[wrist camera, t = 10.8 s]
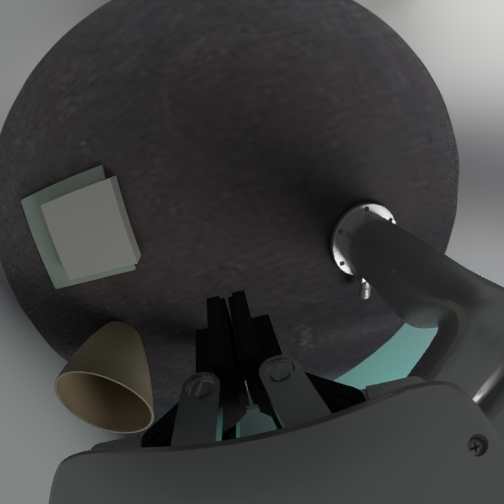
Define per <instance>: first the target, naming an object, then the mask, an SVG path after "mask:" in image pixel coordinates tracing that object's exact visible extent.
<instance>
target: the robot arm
mask: <svg viewBox="0 0 504 504" xmlns="http://www.w3.org/2000/svg"><path fill="white" fill-rule="evenodd" d="M330 248H331V255H332V257H333V260H334V262H335V263H336V265H337V266H338V267H339V268H340V269H341V270H342V271H344V272H345V273H347V274H350V275H355V276H357V277H358V282H359V283H360V289H359V297H360V298H362V299H367V298H369V297H370V286H371V287H372V288H373V289H374V290H375V291H376V292H377V293H378V294H379V295H380V296H381V298H382V299H383V300H384V301H385V302H386V303H387V304H388V305H389V306H390V307H391V308H392V309H393V310H394V311H395V313H396V314H397V315H398V316H399V317H400V318H401V319H402V320H403V321H404V322H406V323H407V324H409V325H411V326H413V327H417V328H435V327H438V331H437V334H436V335H435V337H434V339H433V340H432V342H431V344H430V345H429V347H428V348H427V350H426V351H425V353H424V354H423V356H422V357H421V358H420V360H419V361H418V362H417V364H416V365H415V366H414V368H413V369H412V370H411V372H410V373H409V375H408V376H407V377H406V378H402V379H398V380H394V381H389V382H385V383H380V384H376V385H370V386H366V389H362V390H358V389H356V388H354V387H351V386H347V385H344V384H341V383H338V382H334V381H331V380H328V379H325V378H321V377H318V376H315V375H312V374H309V373H306V372H304V371H303V369H302V368H301V366H300V365H299V363H298V362H297V361H296V360H295V359H294V358H292V357H290V356H286V355H282V352H281V349H280V347H279V344H278V341H277V338H276V335H275V333H274V330H273V327H272V324H271V321H270V318H269V316H268V314H267V315H263V316H259V317H255V318H251V315H250V312H249V308H248V304H247V300H246V296H245V292H244V290H242V291H238V292H233V293H232V296H231V297H228V301H229V307H230V313H231V319H232V323H231V319H230V316H229V312H228V309H227V305H226V302H225V299H224V298H222V299H220V297H219V296H216V297H212V298H207V319H208V328H206V329H201V330H196V373H195V374H193V375H191V376H190V377H188V378H187V379H186V380H185V382H184V383H183V385H182V389H181V394H180V399H179V402H178V403H177V404H176V405H175V406H174V407H173V408H172V409H171V410H170V411H168V412H167V413H166V414H165V415H164V416H163V417H162V418H161V419H160V420H159V421H157V422H156V423H155V424H154V425H153V426H152V427H151V428H150V429H148V430H147V431H146V433H145V434H144V435H143V436H141V437H139V436H138V435H135V436H130V437H126V438H122V439H117V440H113V441H108V442H103V443H99V444H96V445H95V446H94V447H92V449H91V450H88V451H84V452H80V453H77V454H73V455H71V456H69V457H67V458H66V459H64V460H63V461H62V462H61V463H60V465H59V466H58V468H57V470H56V473H55V476H54V479H53V483H52V487H51V493H50V499H49V504H504V288H503V287H501V286H500V285H498V284H496V283H494V282H491V281H489V280H487V279H485V278H483V277H481V276H479V275H478V274H476V273H474V272H472V271H470V270H468V269H466V268H465V267H463V266H462V265H460V264H459V263H457V262H455V261H454V260H452V259H451V258H449V257H448V256H446V255H445V254H443V253H442V252H440V251H438V250H437V249H435V248H434V247H432V246H430V245H429V244H427V243H426V242H424V241H423V240H421V239H419V238H418V237H416V236H414V235H413V234H411V233H409V232H408V231H406V230H404V229H403V228H401V227H399V226H398V225H396V223H395V220H394V217H393V215H392V214H391V213H390V211H389V210H388V209H386V208H385V207H384V206H382V205H380V204H377V203H373V202H365V203H360V204H358V205H355V206H354V207H352V208H350V209H349V210H348V211H346V212H345V213H344V214H343V215H342V217H341V218H340V219H339V220H338V222H337V224H336V226H335V228H334V230H333V233H332V237H331V246H330ZM232 325H233V326H232ZM244 378H245V379H244ZM245 381H246V384H247V387H248V390H249V393H250V395H251V398H252V401H253V404H254V405H255V404H258V406H259V409H260V412H262V413H265V414H267V415H269V416H271V419H272V422H273V424H274V426H275V428H276V430H273V431H269V432H265V433H260V434H256V435H251V436H245V437H240V438H239V431H240V428H239V427H240V426H239V420H240V419H241V418H242V417H243V416H244V414H246V409H245V407H246V406H250V404H249V399H248V394H247V389H246V384H245Z"/></svg>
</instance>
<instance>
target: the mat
mask: <svg viewBox="0 0 504 504" xmlns="http://www.w3.org/2000/svg"><path fill="white" fill-rule="evenodd" d="M103 179H106V176H105V172H104V168H103V165H100V166H98V167H95V168H92V169H90V170H87V171H84V172H82V173H79V174H77V175H75V176H72V177H70V178H67V179H65V180H63V181H60V182H58V183H56V184H54V185H51V186H49V187H47V188H45V189H43V190H41V191H38V192H36V193H34V194H32V195H30V196H28V197H26V198H24V199H22V200H21V203H22V206H23V209H24V212H25V215H26V218H27V221H28V224H29V227H30V230H31V233H32V235H33V238H34V241H35V243H36V246H37V248H38V251H39V253H40V256H41V258H42V260H43V263H44V265H45V267H46V269H47V272H48V274H49V276H50V278H51V280H52V282H53V284H54V286H55V289H59V288H63V287H67V286H71V285H75V284H79V283H83V282H87V281H91V280H95V279H99V278H103V277H107V276H111V275H115V274H119V273H123V272H127V271H132V270H135V269H136V267H135V265H134V264H132V265H128V266H124V267H120V268H116V269H112V270H108V271H104V272H100V273H97V274H93V275H89V276H85V277H81V278H77V279H73V280H69V278H68V276H67V274H66V271H65V269H64V267H63V265H62V262H61V260H60V258H59V255H58V253H57V250H56V248H55V245H54V243H53V240H52V237H51V235H50V232H49V229H48V227H47V224H46V221H45V218H44V215H43V212H42V209H41V206H40V205H42V204H44V203H46V202H48V201H50V200H52V199H54V198H57V197H59V196H62V195H64V194H66V193H69V192H71V191H74V190H76V189H79V188H82V187H84V186H87V185H90V184H92V183H95V182H98V181H101V180H103Z"/></svg>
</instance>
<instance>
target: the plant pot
mask: <svg viewBox="0 0 504 504" xmlns="http://www.w3.org/2000/svg"><path fill="white" fill-rule="evenodd" d="M55 391H56V394H57V396H58V398H59V400H60V401H61V403H62V404H63V405H64V406H65V407H66V408H67V409H68V410H69V411H70V412H71V413H72V414H73V415H75V416H76V417H78V418H79V419H81V420H82V421H84V422H86V423H88V424H90V425H92V426H95V427H97V428H100V429H103V430H107V431H111V432H118V433H134V432H139V431H142V430H145V429H147V428H148V427H149V426H150V425H151V424H152V422H153V420H154V412H153V399H152V389H151V381H150V375H149V369H148V364H147V359H146V355H145V351H144V347H143V344H142V341H141V338H140V335H139V333H138V332H137V331H136V329H135V328H133V327H132V326H131V325H129V324H127V323H124V322H120V321H113V322H109V323H107V324H106V325H104V326H103V327H102V328H100V329H99V330H98V331H96V332H95V333H94V334H93V335H92V336H91V337H90V338H88V339H87V340H86V341H85V342H84V343H83V344H82V345H81V347H80V348H79V349H78V350H77V351H76V352H75V353H74V355H73V356H72V357H71V358H70V360H69V361H68V363H67V364H66V366H65V367H64V369H63V370H62V372H61V373H60V374H59V376H58V378H57V379H56V381H55Z"/></svg>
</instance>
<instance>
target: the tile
mask: <svg viewBox="0 0 504 504" xmlns="http://www.w3.org/2000/svg"><path fill="white" fill-rule="evenodd" d="M40 206H41V209H42V212H43V215H44V218H45V221H46V224H47V227H48V229H49V232H50V235H51V237H52V240H53V243H54V245H55V248H56V250H57V253H58V255H59V258H60V260H61V262H62V265H63V267H64V269H65V271H66V274H67V276H68V278H69V280H73V279H77V278H81V277H85V276H89V275H93V274H97V273H100V272H104V271H108V270H112V269H116V268H120V267H124V266H128V265H132V264H136V263H138V261H139V259H140V257H141V254H140V251H139V248H138V245H137V242H136V240H135V237H134V234H133V231H132V228H131V224H130V221H129V218H128V215H127V212H126V209H125V205H124V202H123V199H122V195H121V192H120V188H119V184H118V181H117V177H116V175H115V176H112V177H109V178H106V179H103V180H101V181H98V182H95V183H92V184H90V185H87V186H84V187H82V188H79V189H76V190H74V191H71V192H69V193H66V194H64V195H62V196H59V197H57V198H54V199H52V200H50V201H48V202H46V203H44V204H42V205H40Z"/></svg>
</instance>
